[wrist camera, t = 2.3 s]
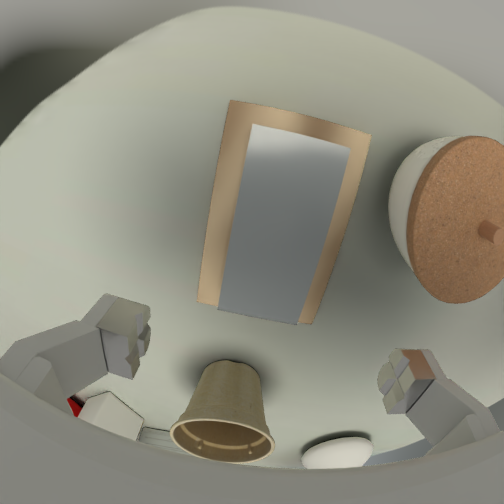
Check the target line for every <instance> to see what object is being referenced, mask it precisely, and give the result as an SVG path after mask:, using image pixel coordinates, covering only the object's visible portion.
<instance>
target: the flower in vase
mask: <svg viewBox="0 0 504 504" xmlns="http://www.w3.org/2000/svg"><path fill="white" fill-rule="evenodd" d="M373 447H374V445H373V443H372V442H370V441H369V440H367V439H365V438H361V437H346V438H339V439H334V440H330V441H326V442H323V443H320V444H318V445H315V446H313V447H312V448H310V449H308V450H307V451H306V452H305V453H304V455H303V456H302V458H301V462H302V464H303V466H304V467H305V468H306V469H331V468H349V467H361V466H362V465H363V464H364V463H365V462H366V461H367V460H368V458H369V457H370V456H371V454H372V452H373Z"/></svg>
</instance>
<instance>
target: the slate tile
mask: <svg viewBox="0 0 504 504" xmlns="http://www.w3.org/2000/svg"><path fill="white" fill-rule="evenodd" d="M350 150H351V148H348V147H345V146H341V145H338V144H335V143H331V142H328V141H324V140H320V139H317V138H313V137H309V136H305V135H301V134H297V133H293V132H289V131H284V130H280V129H275V128H271V127H266V126H261V125H256V124H253V125H252V129H251V134H250V139H249V144H248V148H247V153H246V158H245V163H244V168H243V173H242V178H241V183H240V188H239V193H238V198H237V204H236V209H235V214H234V219H233V225H232V230H231V235H230V241H229V246H228V252H227V257H226V263H225V268H224V274H223V280H222V285H221V291H220V297H219V303H218V309H217V310H222V311H226V312H231V313H236V314H241V315H246V316H251V317H256V318H261V319H266V320H271V321H277V322H282V323H288V324H294V325H297V323H298V320H299V317H300V314H301V312H302V309H303V306H304V303H305V300H306V298H307V295H308V292H309V289H310V286H311V283H312V280H313V277H314V274H315V271H316V268H317V265H318V262H319V259H320V256H321V253H322V250H323V246H324V243H325V240H326V237H327V233H328V230H329V227H330V223H331V220H332V217H333V213H334V210H335V206H336V203H337V199H338V196H339V192H340V188H341V185H342V181H343V177H344V173H345V169H346V166H347V162H348V158H349V154H350Z"/></svg>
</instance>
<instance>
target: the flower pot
mask: <svg viewBox="0 0 504 504" xmlns="http://www.w3.org/2000/svg"><path fill="white" fill-rule="evenodd" d="M170 437H171V439H172V441H173V442H174V443H175V444H176V445H177V446H178V447H180V448H181V449H182V450H184V451H186V452H188V453H190V454H192V455H194V456H196V457H199V458H203V459H209V460H214V461H220V462H226V463H233V464H241V463H251V462H254V461H258V460H261V459H264V458H266V457H267V456H269V455H270V454H271V453H272V452H273V451H274V448H275V442H274V439H273V438H272V436H271V435H270V432H269V428H268V426H267V425H266V421H265V415H264V407H263V400H262V393H261V385H260V378H259V376H258V374H257V372H256V371H255V370H254V369H253V368H251V367H250V366H248V365H246V364H244V363H235V362H231V361H229V360H223V361H217V362H214V363H212V364H210V365H208V366H207V367H206V368H205V369H204V371H203V373H202V376H201V378H200V380H199V383H198V385H197V387H196V389H195V392H194V394H193V396H192V398H191V400H190V402H189V405H188V407H187V409H186V411H185V412H184V413H183V414H182V415H181V416H180V418H179V420H178V421H177V422H175V423H174V424H173V425H172V427H171V429H170Z"/></svg>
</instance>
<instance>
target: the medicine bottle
mask: <svg viewBox="0 0 504 504" xmlns="http://www.w3.org/2000/svg"><path fill="white" fill-rule="evenodd" d="M77 418H80V419H82V420H84V421H86V422H88V423H91V424H93V425H95V426H98V427H100V428H103V429H105V430H108V431H110V432H113V433H115V434H118V435H121V436H124V437H126V438H129V439H132V440H135V441H136V440H137V437H138V435H139V432H140V429H141V427H142V424H143V422H144V419H143V418H142V417H140V416H139V415H138V414H136V413H135V412H134V411H133V410H131V409H130V408H129V407H128V406H126V405H125V404H124V403H123V402H122V401H120V400H119V399H118V398H117V397H116V396H114V395H113V394H112V393H111V392H107V393H103V394H100V395H97V396H94V397H91V398H88V399H87V401H86V403H85V405H84V406H83V408H82V410H81V412H80V414H79V415H78V417H77Z"/></svg>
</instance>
